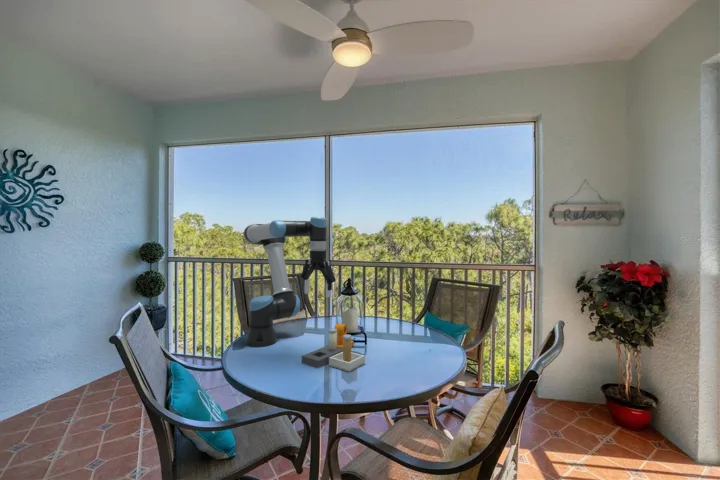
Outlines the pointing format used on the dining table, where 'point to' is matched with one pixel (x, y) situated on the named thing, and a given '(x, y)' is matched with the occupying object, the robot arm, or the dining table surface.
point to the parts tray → (338, 361)
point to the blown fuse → (347, 347)
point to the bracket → (341, 334)
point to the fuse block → (323, 352)
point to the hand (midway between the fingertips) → (317, 295)
